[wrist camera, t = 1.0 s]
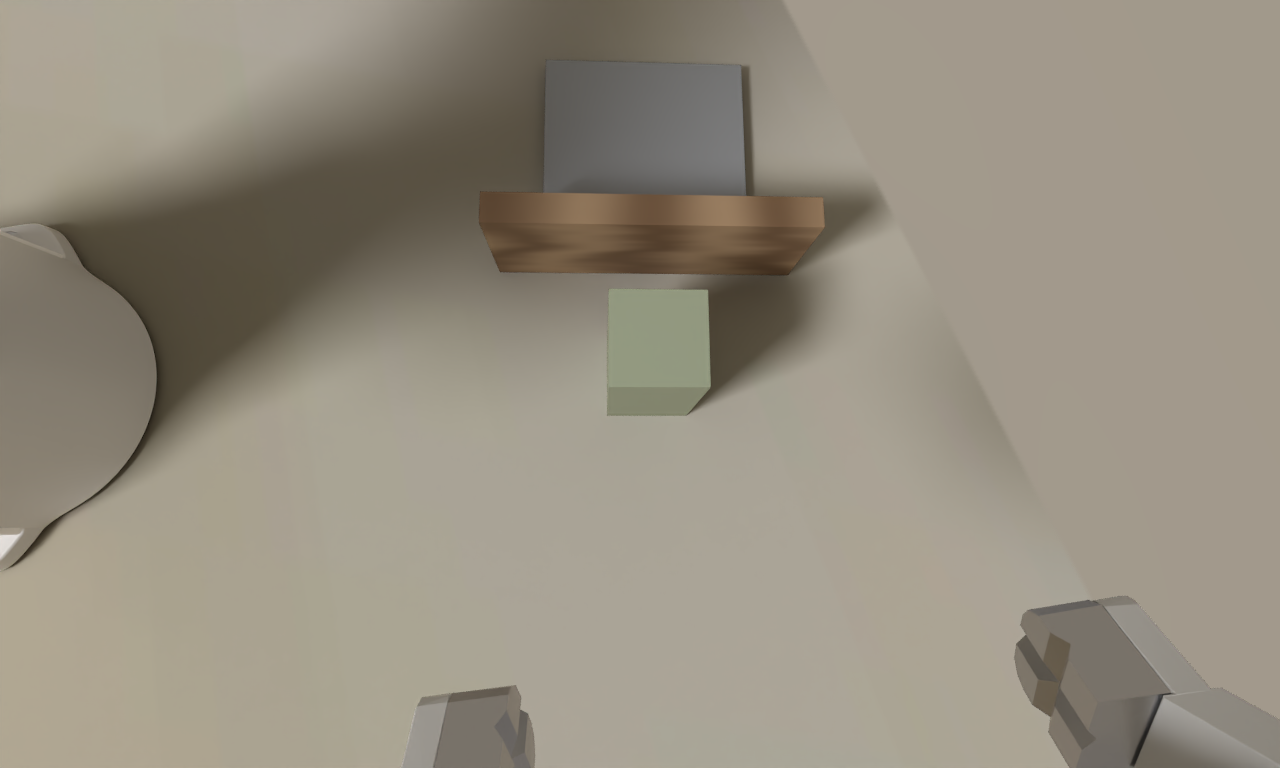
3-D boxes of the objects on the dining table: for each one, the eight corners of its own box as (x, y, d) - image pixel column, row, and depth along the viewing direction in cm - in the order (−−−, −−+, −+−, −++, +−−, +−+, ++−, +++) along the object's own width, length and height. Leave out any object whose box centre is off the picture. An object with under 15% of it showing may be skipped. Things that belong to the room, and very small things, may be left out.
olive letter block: (607, 415, 39) (608, 386, 30) (607, 335, 40) (608, 284, 31) (686, 415, 39) (710, 387, 30) (684, 335, 40) (708, 285, 31)
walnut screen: (499, 271, 40) (478, 222, 33) (500, 246, 40) (479, 191, 34) (787, 275, 41) (824, 227, 34) (786, 249, 41) (822, 197, 34)
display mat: (544, 203, 41) (543, 197, 40) (546, 68, 43) (545, 59, 42) (743, 206, 42) (746, 201, 41) (738, 73, 43) (741, 65, 43)
